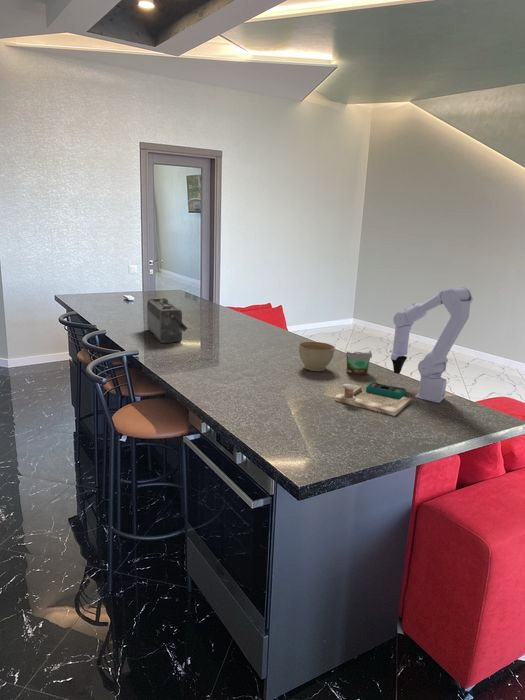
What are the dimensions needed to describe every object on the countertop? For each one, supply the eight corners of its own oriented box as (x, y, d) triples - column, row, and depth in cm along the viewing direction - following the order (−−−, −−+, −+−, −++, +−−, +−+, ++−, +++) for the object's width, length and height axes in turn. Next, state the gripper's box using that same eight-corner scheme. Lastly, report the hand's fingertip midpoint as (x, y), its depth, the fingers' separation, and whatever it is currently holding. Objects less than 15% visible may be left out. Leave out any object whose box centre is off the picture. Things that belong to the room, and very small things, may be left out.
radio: (146, 329, 282) (146, 295, 277) (171, 328, 288) (171, 295, 283) (160, 344, 249) (160, 306, 244) (187, 343, 254) (188, 305, 249)
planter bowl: (331, 375, 210) (333, 351, 207) (295, 371, 213) (296, 348, 210) (333, 365, 225) (335, 343, 223) (299, 362, 228) (301, 340, 226)
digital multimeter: (369, 387, 198) (370, 380, 197) (406, 395, 191) (407, 388, 190) (364, 392, 192) (364, 385, 191) (401, 400, 185) (402, 393, 184)
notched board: (410, 402, 182) (412, 386, 180) (393, 416, 167) (396, 399, 165) (354, 388, 194) (355, 373, 193) (334, 400, 179) (335, 384, 178)
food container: (349, 377, 209) (351, 354, 207) (343, 372, 215) (345, 351, 212) (375, 376, 213) (377, 354, 210) (368, 371, 218) (370, 350, 216)
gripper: (397, 336, 204) (393, 367, 208) (385, 342, 192) (381, 374, 196) (414, 339, 200) (409, 370, 204) (402, 345, 189) (398, 378, 192)
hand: (396, 373), depth 200 cm, fingers closed
